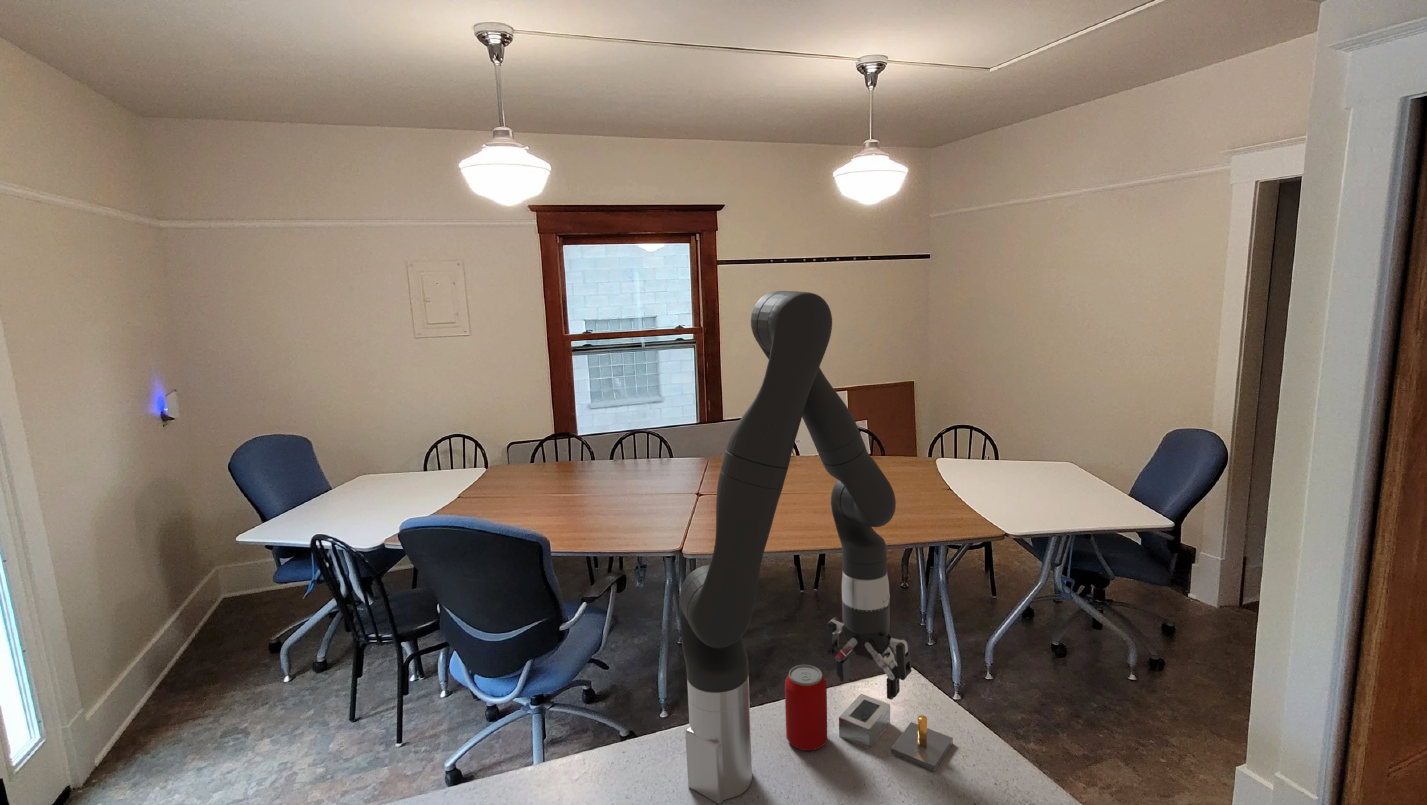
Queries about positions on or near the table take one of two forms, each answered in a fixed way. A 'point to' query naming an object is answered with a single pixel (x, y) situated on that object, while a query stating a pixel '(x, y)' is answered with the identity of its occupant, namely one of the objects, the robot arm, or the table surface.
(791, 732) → the beverage can
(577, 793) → the table surface
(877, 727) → the silver frame
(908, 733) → the grey peg base
